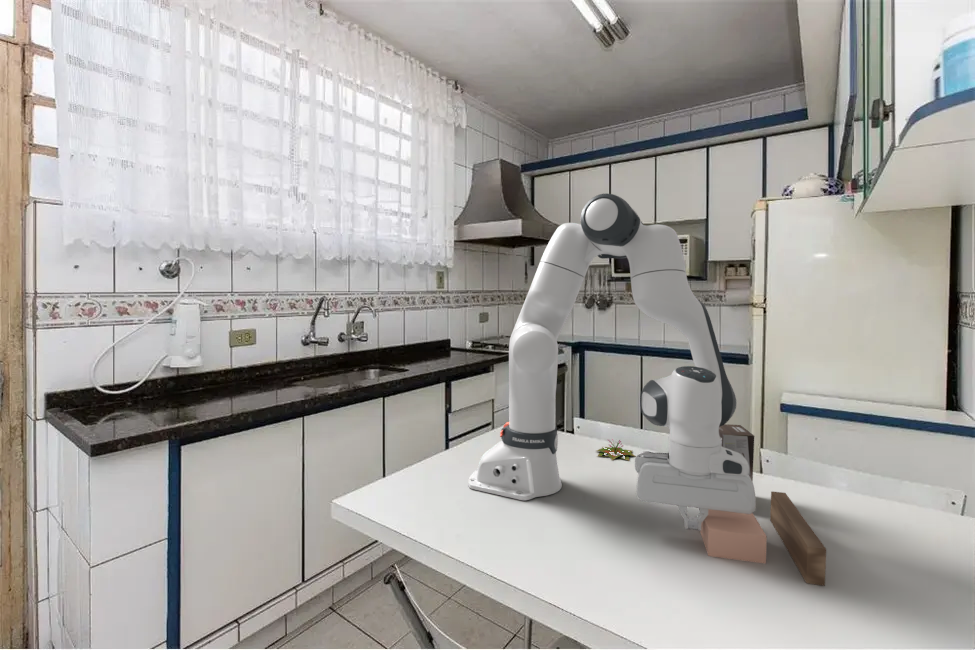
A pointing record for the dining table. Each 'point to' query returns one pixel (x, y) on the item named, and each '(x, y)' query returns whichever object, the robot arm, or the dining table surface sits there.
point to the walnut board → (798, 539)
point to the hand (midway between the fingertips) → (692, 528)
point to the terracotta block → (734, 536)
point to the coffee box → (738, 442)
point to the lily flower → (615, 451)
